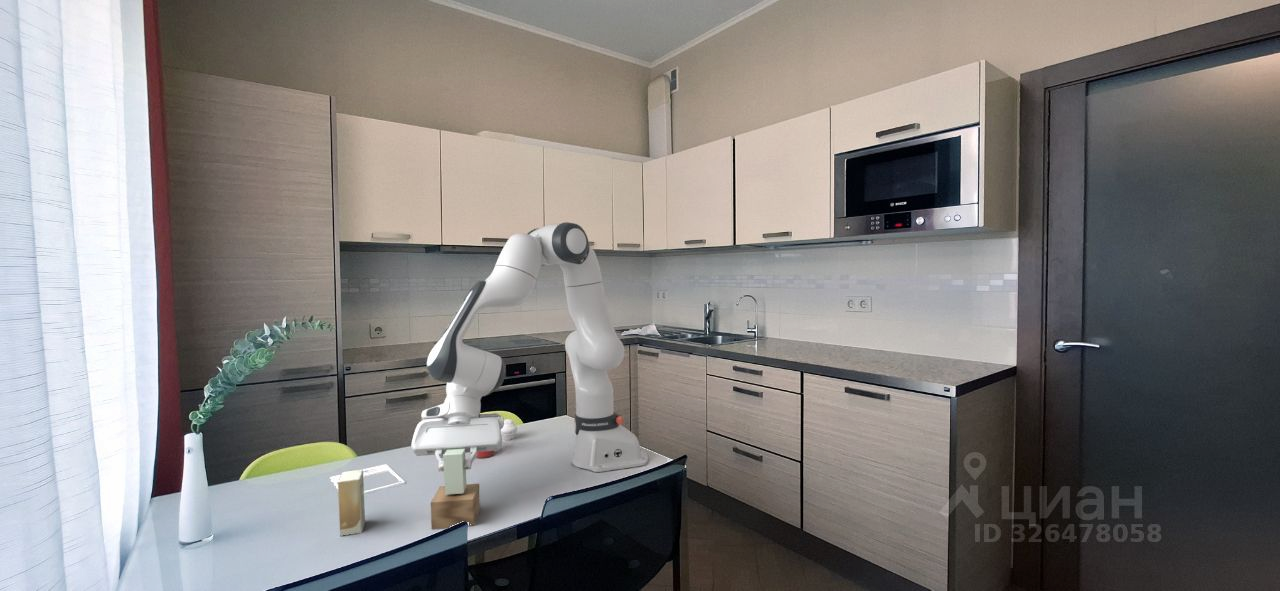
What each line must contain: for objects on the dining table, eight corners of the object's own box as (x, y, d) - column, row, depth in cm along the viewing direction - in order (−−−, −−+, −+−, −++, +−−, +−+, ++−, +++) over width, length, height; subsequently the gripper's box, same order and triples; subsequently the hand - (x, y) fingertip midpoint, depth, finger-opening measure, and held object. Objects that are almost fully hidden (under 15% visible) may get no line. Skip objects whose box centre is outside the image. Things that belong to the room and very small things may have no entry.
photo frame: (386, 463, 157) (404, 481, 143) (386, 467, 157) (404, 485, 143) (329, 476, 148) (343, 496, 134) (329, 480, 148) (344, 500, 134)
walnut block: (479, 508, 127) (479, 483, 127) (473, 525, 118) (472, 499, 118) (440, 511, 126) (439, 486, 126) (431, 529, 117) (430, 502, 117)
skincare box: (344, 524, 120) (341, 471, 120) (365, 520, 122) (363, 468, 121) (339, 537, 114) (336, 481, 114) (361, 533, 116) (359, 478, 115)
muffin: (520, 436, 183) (519, 416, 183) (513, 442, 177) (513, 421, 177) (503, 436, 184) (502, 416, 184) (496, 441, 178) (495, 421, 178)
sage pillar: (466, 486, 124) (465, 448, 124) (463, 493, 120) (462, 454, 120) (448, 487, 124) (447, 449, 123) (445, 494, 120) (443, 455, 119)
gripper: (505, 419, 134) (502, 472, 125) (420, 424, 131) (411, 478, 122) (503, 406, 130) (500, 459, 120) (415, 411, 127) (404, 466, 117)
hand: (454, 469), depth 121 cm, fingers open, 4 cm apart
